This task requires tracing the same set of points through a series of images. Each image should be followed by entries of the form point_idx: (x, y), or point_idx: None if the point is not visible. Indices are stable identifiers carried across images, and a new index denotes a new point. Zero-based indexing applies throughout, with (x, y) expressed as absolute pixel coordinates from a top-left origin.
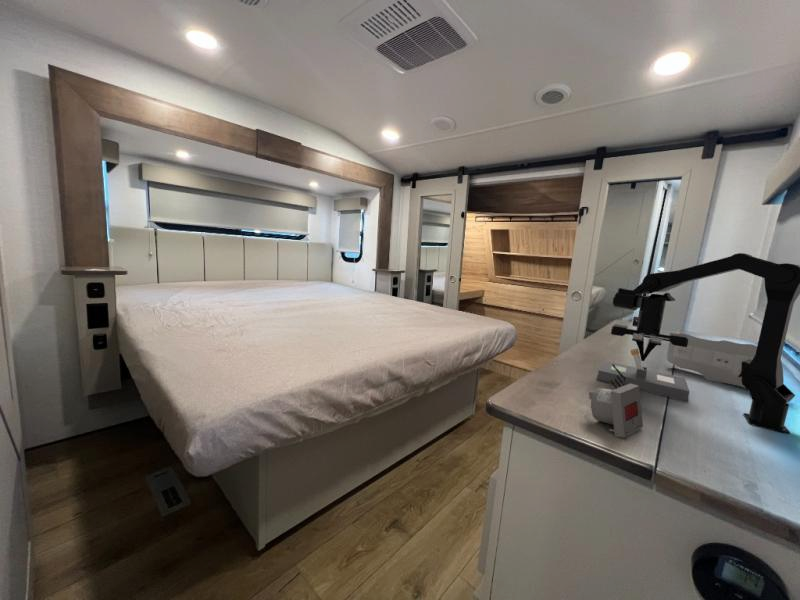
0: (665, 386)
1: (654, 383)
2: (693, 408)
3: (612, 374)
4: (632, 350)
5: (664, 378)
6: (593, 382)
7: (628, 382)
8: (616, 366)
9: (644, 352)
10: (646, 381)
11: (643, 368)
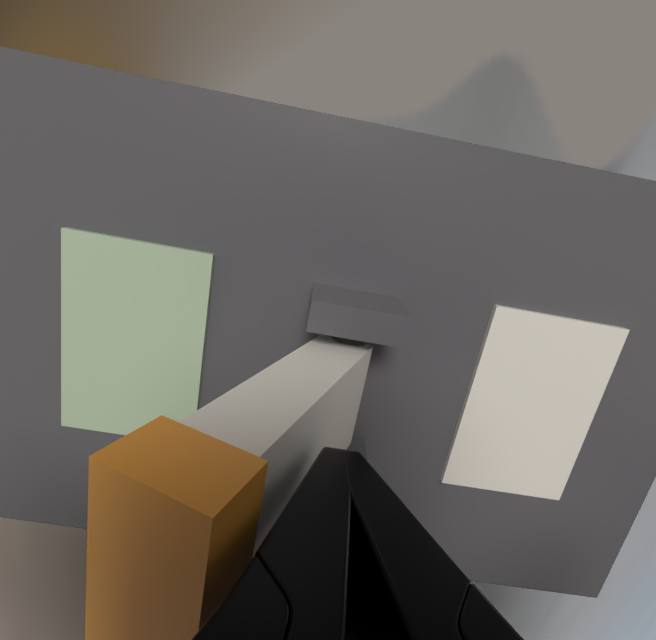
0: None
1: None
2: (534, 616)
3: None
4: (112, 597)
5: (526, 400)
6: (23, 540)
7: None
8: (108, 269)
9: (361, 549)
10: None
11: (363, 364)
